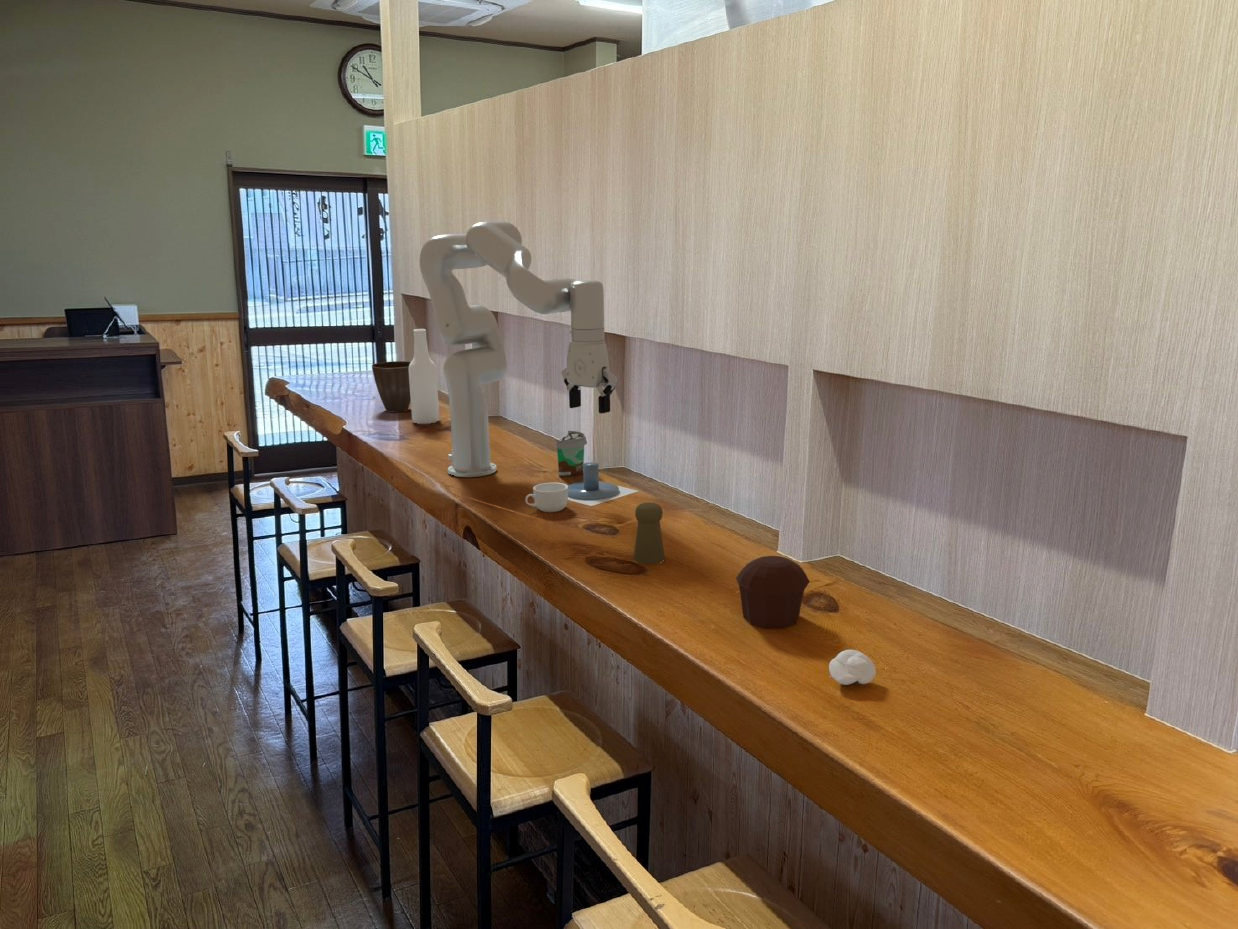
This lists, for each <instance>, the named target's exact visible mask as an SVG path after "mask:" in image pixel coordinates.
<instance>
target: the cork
mask: <svg viewBox="0 0 1238 929" xmlns="http://www.w3.org/2000/svg"><path fill="white" fill-rule="evenodd" d="M634 515H635V519H636V520H637V527H636V528H637V529H636V536H635V545H634V553H633V561H634V560H635V561H636V562H638V563H637V564H639V563H641V564H640V565H643V564H655V565H657V564H656V563H660V562H662V561H663V560H666V559H665V550H664V543H663V535H662V528H661V520H662V519H663V508H662V506H661V505H660V504H658V503H657V502H643V503H640V504H638V505H636V507H635V511H634ZM635 561H634V562H635ZM636 562H635V563H636ZM662 563H663V562H662ZM660 564H661V563H660Z"/></svg>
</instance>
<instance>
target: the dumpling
mask: <svg viewBox="0 0 1238 929" xmlns="http://www.w3.org/2000/svg"><path fill="white" fill-rule="evenodd" d="M828 665H829V666H828V668H829V669H828V670H829V674H830V675H829V676H828V678H833V680H834V681H835V682H837V683H838V684H841V685H843V686H849V685H852V684H855V683H856V682H858V684H861V685H866V684H869V683H871V682H872V681H873V680H874V678H875V677H876V674H877V669H876V666H875V664H874V662H873V661H872V659H870V658H869V657H868V656H867V655H866V654H865V653H863V652H861V651H859V650H855V649H845V650H843V651H841V652H839V653H838V654H837V655H836V657H835V658H832V659H831V660H830V662H829V664H828Z"/></svg>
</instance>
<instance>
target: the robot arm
mask: <svg viewBox="0 0 1238 929" xmlns="http://www.w3.org/2000/svg"><path fill="white" fill-rule="evenodd" d="M522 238H523V237H522V234H521V232H520V230H519V229H518V228H517V227H516V226H515V225H514V224H513V223H511V222H508V221H480V222H477V223H475V224H473V225H472V226H470V227H469V228H468V230H467V231H466V233H450V234H449V233H448V234H440V235H439V234H438V235H436V236H433V237H431V238H429V239H428V240H427V241H425V243H424V244H423V245H422V248H421V250H420V252H419V269H420V272H421V277H422V280H423V281H424V283H425V287H426V289H427V291H428V294H429V297H430V300H431V301H430V302H431V306H432V310H433V314H434V317H435V321H436V325H437V329H438V331H439V335H440V338H441V339H442V340H441V341H443V342H444V343H445V344H446V345H448V346H455V347H457V346H465V345H470V344H472V348H467V349H462V350H458V351H455V352H452V353H451V354H450V355H449V356H447V357H446V358H445V360H444V363H443V366H442V367H443V368H442V369H443V376H444V380H445V381H444V382H445V385H446V388H447V393H448V395H447V396H448V401H449V413H450V414H449V415H450V429H451V445H452V448H451V449H452V451H451V454H450V453H449V454H447V456H446V457H447V460H450V461H451V465H450V466H448V467H447V473H448V474H449V475H450V474H451V475H450V476H452V475H454V476H453V477H458V478H477V477H478V478H479V477H486V476H489V475H492V474H494V473H496V472H497V470H498V468H497V464H495V463H493V462H491V449H490V448H491V447H490V444H491V443H490V428H489V427H490V425H489V412H488V411H489V410H488V402H487V399H486V396H485V394H484V392H483V390H482V388H481V386H484V385H488V384H491V383H492V384H493V383H497V382H498V381H500V380H502V379H503V378H504V377H505V375H506V373H507V368H508V365H507V364H508V363H507V356H506V352H505V348H504V345H503V344H504V343H503V340H502V337H501V333H500V329H499V326H498V322H497V319H496V317H495V315H494V314H493V312H492V311H491V310H490V309H489V308H488V307H486V306H484V305H481V304H474V305H468V302H467V298H466V296H465V295H466V294H465V291H464V288H463V286H462V283H461V282H460V280H459V279H458V278H457V277H456V276H455V275H454V274H453V272H452V271H453V270H466V269H476V268H482V267H485V266H489V267H490V268H492V269H493V270H494V271H495V272H497V273H498V274H499V275H502V277H504V278H505V280H506V282H505V283H506V285H507V288H508V289H509V291H510V293H511V295H512V296H513V297H514V298H515V299H516V300H517V301H519V302H520V303H521V304H523V305H524V306H525V307H527V308H528V309H530V310H532V311H533V312H534V313H537V314H540V315H549V314H556V313H567V312H570V332H569V334H570V335H571V338H570V339H571V340H570V341H568V342H569V343H568V348H567V354H566V355H567V356H566V367H565V368H564V369H562V370H561V375H562V378H563V382H564V384H565V386H566V390H567V392H568V401H569V402H568V403H569V404H568V405H569V409H575V408H580V407H581V406H582V398H581V397H582V396H581V395H582V394H581V389H580V387H584V388H589V389H590V388H591V389H593V388H596V389H597V391H598V393H599V395H598V397H597V398H598V403H597V404H598V413H599V414H600V415H601V414H607V413H610V412H611V395H613V392H614V391H615V389H616V386H617V382H618V380H619V378H618V377H617V376H616V375H615V374H614V373H613V372H611V371H610V362H609V361H610V360H609V353H608V346H607V342H605V305H604V304H605V300H604V299H605V298H604V297H605V294H604V291H605V290H604V285H603V283H602V282H601V281H599V280H588V279H587V280H584V279H583V280H578V279H575V278H566V277H565V278H555V279H554V278H553V279H552V278H551V279H544V280H543V279H542V278H540V277H538V276H537V275H535V274H534V273H532V272H531V271H530V270H529V269H530V267H531V263H532V254H531V251H530V250H529V249H528V248H527V247H525V246H524V245H522V244H523V242H522V241H523V240H522Z"/></svg>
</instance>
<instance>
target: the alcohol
mask: <svg viewBox="0 0 1238 929" xmlns="http://www.w3.org/2000/svg"><path fill="white" fill-rule="evenodd" d="M413 337H414V338H413V339H414V340H413V358H412V360H411V361H410V362H411V363H410V365H409V384H410V398H411V401H410V410H411V412H410V413H411V420H412V422H413V423H414V424H415V423H417V424H416V425H432V424H431V423H433V424H435V423H436V422H437V421H438V422H439V420H440V405H439V404H440V403H439V392H438V390H439V389H438V375H437V374H438V373H437V366H436V363H435V362H434V361H433V360H432V359H431V357H430V354H429V347H428V339H427V330H426V329H425V328H416V329H413ZM438 422H437V423H438ZM437 423H436V424H437Z"/></svg>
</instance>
